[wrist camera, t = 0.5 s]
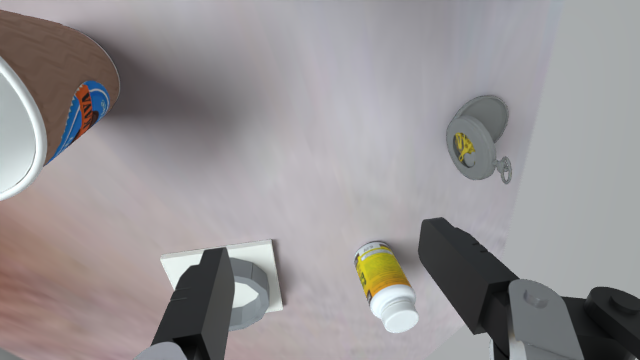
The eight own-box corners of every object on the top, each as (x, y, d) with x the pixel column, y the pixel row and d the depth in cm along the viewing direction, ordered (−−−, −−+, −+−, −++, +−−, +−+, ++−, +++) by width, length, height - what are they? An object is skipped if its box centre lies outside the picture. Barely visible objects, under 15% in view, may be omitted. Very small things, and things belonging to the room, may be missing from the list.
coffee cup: (99, 154, 25) (-19, 239, 15) (-36, 65, 21) (-348, 99, 10) (169, 79, 23) (88, 117, 13) (36, -39, 18) (-262, -130, 8)
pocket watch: (511, 118, 31) (605, 152, 22) (455, 171, 33) (520, 220, 25) (475, 71, 27) (570, 89, 19) (415, 134, 30) (475, 175, 21)
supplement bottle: (347, 249, 37) (372, 318, 28) (384, 234, 36) (421, 298, 28) (359, 274, 39) (384, 343, 31) (394, 259, 39) (430, 325, 30)
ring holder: (162, 254, 32) (151, 277, 29) (271, 239, 34) (271, 259, 31) (192, 320, 38) (185, 345, 35) (282, 304, 40) (283, 327, 37)
